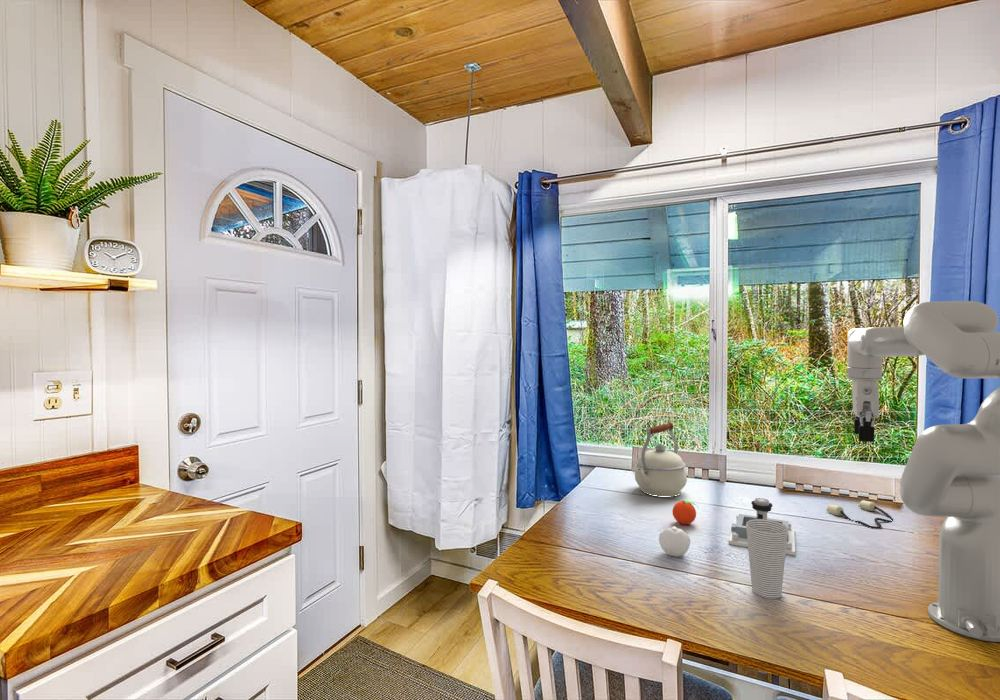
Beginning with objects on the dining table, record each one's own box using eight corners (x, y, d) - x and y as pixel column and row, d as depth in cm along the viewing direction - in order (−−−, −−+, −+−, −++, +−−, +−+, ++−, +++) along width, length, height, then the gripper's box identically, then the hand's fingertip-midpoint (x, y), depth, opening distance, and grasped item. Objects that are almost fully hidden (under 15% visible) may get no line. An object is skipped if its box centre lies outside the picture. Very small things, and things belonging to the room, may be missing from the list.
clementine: (696, 519, 159) (696, 497, 159) (702, 528, 152) (702, 505, 152) (670, 519, 160) (670, 497, 159) (675, 527, 153) (675, 504, 152)
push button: (779, 539, 141) (779, 504, 140) (761, 540, 140) (761, 505, 140) (764, 530, 147) (764, 496, 147) (747, 531, 147) (747, 497, 146)
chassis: (795, 555, 133) (795, 540, 133) (728, 543, 141) (728, 529, 141) (793, 531, 148) (794, 517, 148) (734, 521, 156) (734, 509, 156)
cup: (750, 579, 121) (750, 515, 120) (791, 590, 115) (791, 524, 115) (741, 594, 114) (741, 527, 114) (783, 606, 109) (784, 536, 108)
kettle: (655, 480, 200) (655, 418, 199) (699, 491, 186) (698, 424, 185) (616, 494, 184) (615, 426, 183) (660, 507, 170) (660, 434, 169)
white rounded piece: (689, 550, 137) (689, 522, 137) (691, 563, 130) (691, 533, 129) (658, 547, 139) (658, 520, 139) (659, 560, 132) (659, 531, 132)
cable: (912, 525, 153) (913, 513, 152) (871, 532, 148) (871, 520, 148) (863, 507, 168) (863, 497, 167) (824, 513, 163) (824, 503, 163)
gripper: (887, 377, 125) (886, 445, 126) (876, 371, 140) (876, 432, 141) (851, 376, 129) (850, 443, 129) (844, 371, 144) (843, 430, 144)
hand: (863, 437), depth 135 cm, fingers open, 9 cm apart
